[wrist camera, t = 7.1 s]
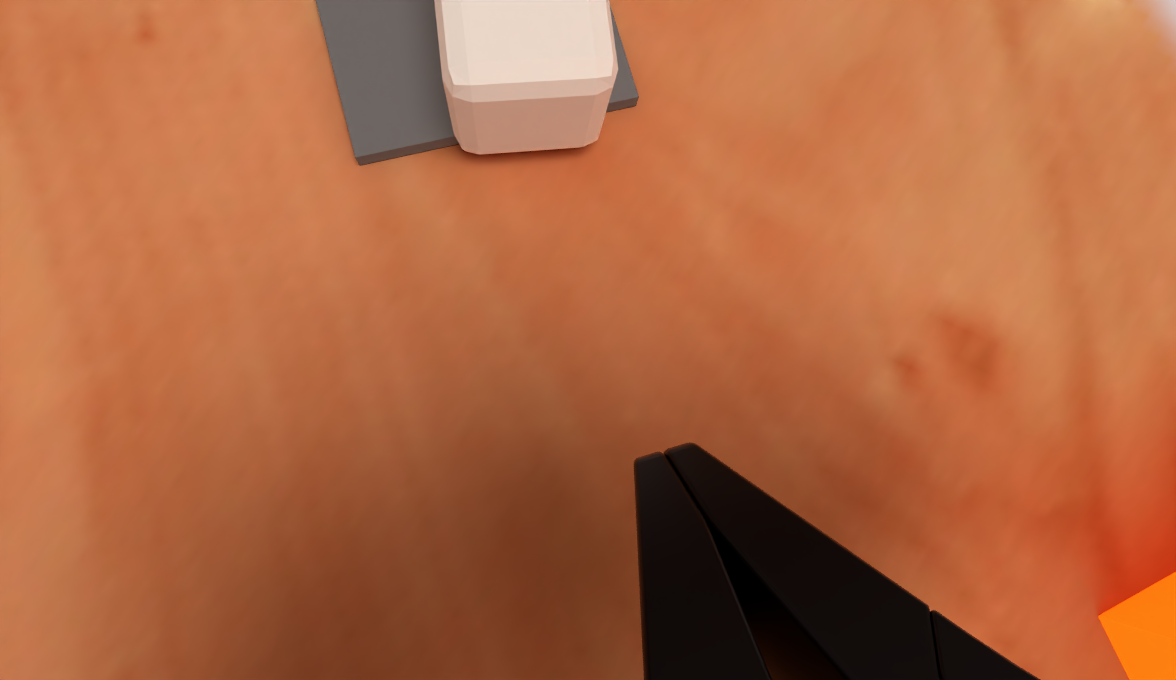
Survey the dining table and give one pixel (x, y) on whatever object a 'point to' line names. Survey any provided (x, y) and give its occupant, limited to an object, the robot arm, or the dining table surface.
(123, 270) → the dining table surface
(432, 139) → the coaster
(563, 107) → the pepper shaker
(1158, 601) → the orange juice
